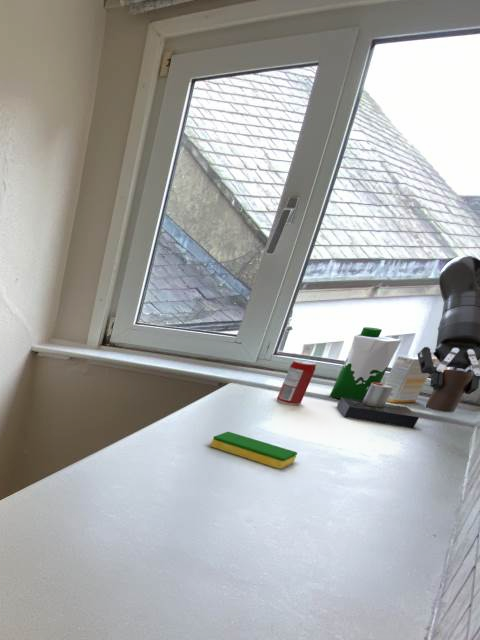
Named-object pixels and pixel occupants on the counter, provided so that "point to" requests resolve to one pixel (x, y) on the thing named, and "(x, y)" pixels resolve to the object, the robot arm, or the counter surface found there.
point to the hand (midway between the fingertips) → (453, 389)
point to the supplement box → (406, 379)
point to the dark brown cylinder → (450, 391)
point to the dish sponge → (254, 449)
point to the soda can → (296, 382)
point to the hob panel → (377, 413)
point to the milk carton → (364, 364)
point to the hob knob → (377, 394)
